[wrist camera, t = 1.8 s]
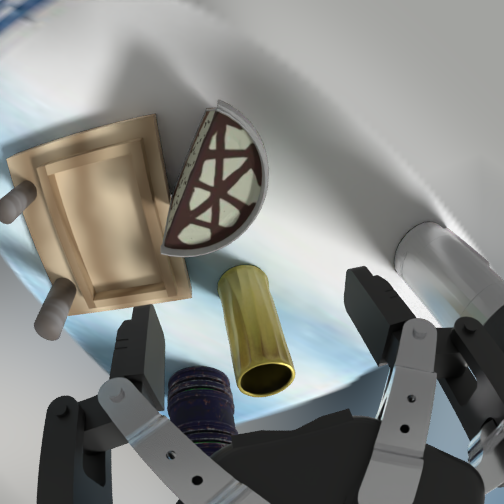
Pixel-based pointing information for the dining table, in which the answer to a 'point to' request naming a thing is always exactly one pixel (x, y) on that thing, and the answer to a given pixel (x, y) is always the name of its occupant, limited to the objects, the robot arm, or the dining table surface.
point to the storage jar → (202, 407)
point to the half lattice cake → (217, 185)
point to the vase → (254, 333)
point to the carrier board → (97, 220)
